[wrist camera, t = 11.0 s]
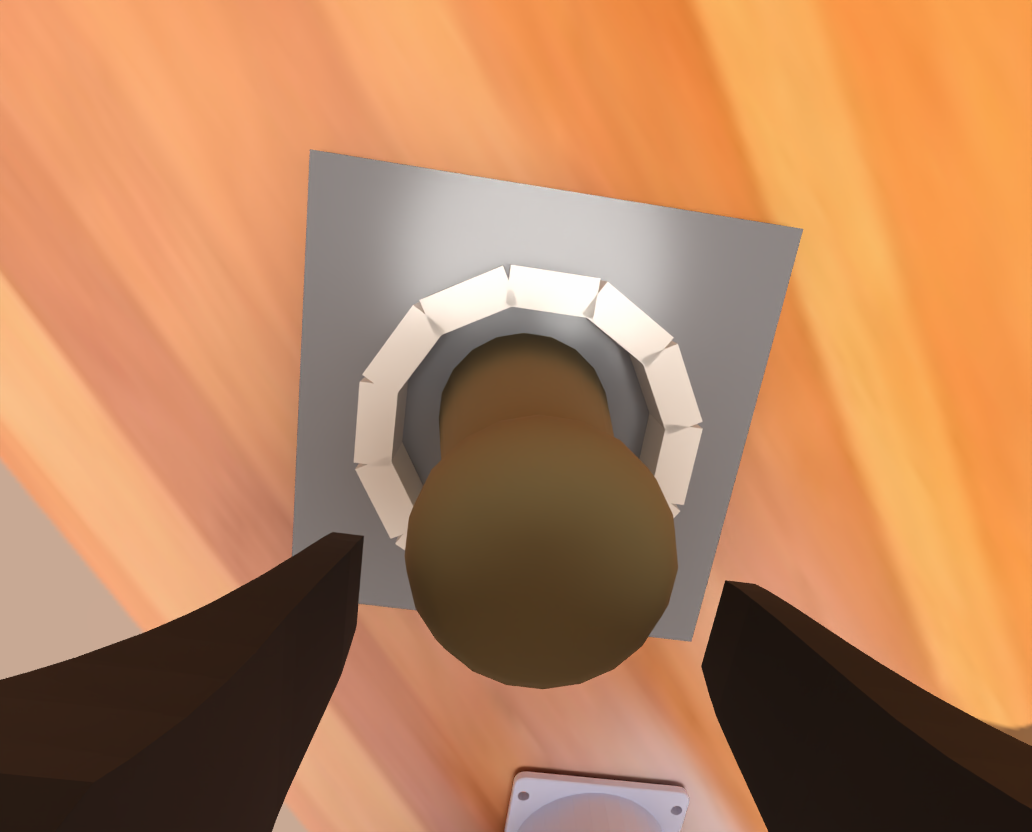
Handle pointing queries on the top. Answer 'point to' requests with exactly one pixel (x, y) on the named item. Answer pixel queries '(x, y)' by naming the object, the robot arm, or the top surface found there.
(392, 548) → the ring stand
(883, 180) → the top surface
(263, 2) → the top surface
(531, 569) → the cork
